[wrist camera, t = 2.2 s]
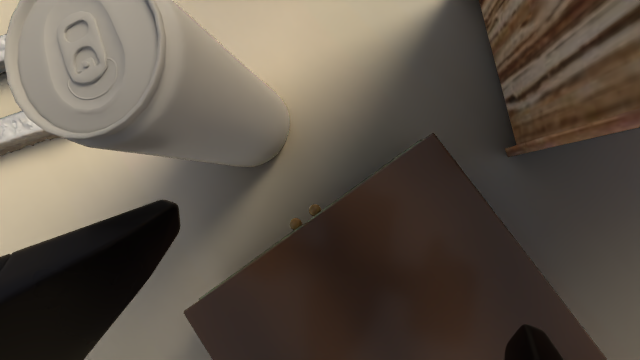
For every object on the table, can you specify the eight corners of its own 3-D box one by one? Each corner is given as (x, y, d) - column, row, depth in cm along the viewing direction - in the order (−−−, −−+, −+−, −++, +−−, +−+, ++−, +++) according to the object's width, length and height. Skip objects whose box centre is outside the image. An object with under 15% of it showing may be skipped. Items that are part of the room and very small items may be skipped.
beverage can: (227, 179, 21) (28, 172, 9) (201, 101, 22) (-22, 0, 10) (304, 150, 20) (193, 102, 9) (276, 70, 21) (132, -82, 9)
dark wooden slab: (330, 460, 20) (317, 528, 16) (213, 279, 21) (175, 300, 17) (559, 322, 18) (608, 360, 14) (416, 133, 19) (424, 119, 15)
